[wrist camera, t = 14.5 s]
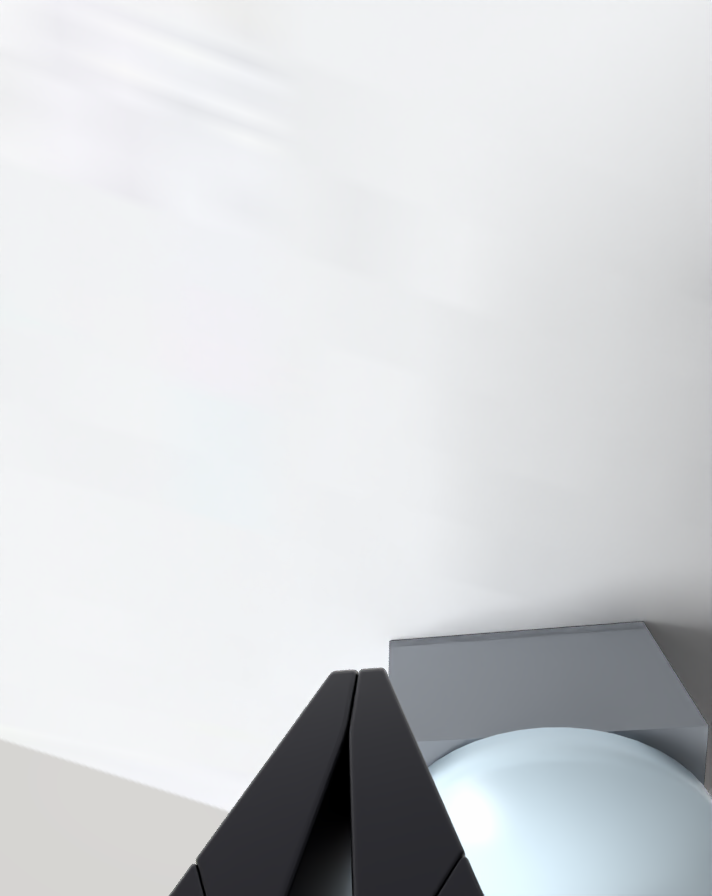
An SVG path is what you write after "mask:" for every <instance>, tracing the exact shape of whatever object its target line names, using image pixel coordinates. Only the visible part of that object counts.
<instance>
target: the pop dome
mask: <svg viewBox="0 0 712 896" xmlns="http://www.w3.org/2000/svg"><path fill="white" fill-rule="evenodd" d="M428 769H429V771H430V773H431V775H432V778H433V780H434V782H435V785H436V787H437V789H438V792H439V794H440V796H441V798H442V801H443V803H444V805H445V808H446V810H447V812H448V814H449V817H450V819H451V821H452V824H453V826H454V828H455V831H456V833H457V835H458V837H459V840H460V842H461V844H462V847H463V849H464V851H465V856H466V857H467V858H468V860H469V862H470V864H471V867H472V869H473V871H474V874H475V876H476V878H477V880H478V883H479V885H480V887H481V889H482V891H483V894H484V896H712V797H711V796H710V794H709V793H708V791H707V790H706V788H705V787H704V785H703V784H702V783H701V782H700V781H699V780H698V779H697V778H696V777H695V776H694V775H693V774H692V773H691V772H690V771H689V770H688V769H686V768H685V767H684V766H683V765H681V764H680V763H679V762H677V761H676V760H675V759H673V758H671V757H670V756H668V755H666V754H664V753H663V752H661V751H659V750H658V749H655V748H653V747H651V746H648V745H646V744H644V743H641V742H639V741H637V740H633V739H630V738H627V737H623V736H620V735H617V734H613V733H607V732H602V731H597V730H592V729H581V728H570V727H543V728H533V729H524V730H517V731H512V732H507V733H502V734H497V735H494V736H490V737H487V738H484V739H481V740H478V741H475V742H472V743H470V744H468V745H465V746H463V747H461V748H458V749H456V750H454V751H452V752H451V753H449V754H447V755H446V756H444V757H442V758H440V759H439V760H437V761H436V762H434V763H433V764H432V765H430V766H429V767H428Z"/></svg>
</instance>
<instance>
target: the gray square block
mask: <svg viewBox="0 0 712 896" xmlns="http://www.w3.org/2000/svg"><path fill="white" fill-rule="evenodd" d="M389 679H390V681H391V684H392V686H393V688H394V691H395V693H396V695H397V697H398V700H399V702H400V704H401V707H402V709H403V711H404V713H405V716H406V718H407V720H408V723H409V725H410V727H411V730H412V732H413V734H414V736H415V739H416V741H417V743H418V746H419V748H420V750H421V753H422V755H423V757H424V759H425V762H426V764H427V766H428V767H429V766H430V765H432V764H433V763H434V762H436V761H437V760H439V759H440V758H442V757H444V756H446V755H447V754H449V753H451V752H452V751H454V750H456V749H458V748H461V747H463V746H465V745H468V744H470V743H472V742H475V741H478V740H481V739H484V738H487V737H490V736H494V735H497V734H502V733H507V732H512V731H517V730H524V729H533V728H543V727H570V728H581V729H592V730H597V731H602V732H607V733H613V734H617V735H620V736H623V737H627V738H630V739H633V740H637V741H639V742H641V743H644V744H646V745H648V746H651V747H653V748H655V749H658V750H659V751H661V752H663V753H664V754H666V755H668V756H670V757H671V758H673V759H675V760H676V761H677V762H679V763H680V764H681V765H683V766H684V767H685V768H686V769H688V770H689V771H690V772H691V773H692V774H693V775H694V776H695V777H696V778H697V779H698V780H699V781H700V782H701V783H702V784H703V785H704V778H705V765H706V753H707V741H708V728H709V726H708V724H707V723H706V721H705V719H704V718H703V716H702V715H701V713H700V711H699V710H698V708H697V707H696V705H695V703H694V702H693V700H692V699H691V697H690V695H689V694H688V692H687V691H686V689H685V687H684V686H683V684H682V683H681V681H680V679H679V678H678V676H677V675H676V673H675V671H674V670H673V668H672V667H671V665H670V663H669V662H668V660H667V659H666V657H665V655H664V654H663V652H662V651H661V649H660V647H659V646H658V644H657V643H656V641H655V639H654V638H653V636H652V635H651V633H650V631H649V630H648V628H647V627H646V625H645V623H644V622H631V623H617V624H604V625H591V626H578V627H565V628H552V629H539V630H526V631H513V632H499V633H486V634H473V635H460V636H447V637H434V638H421V639H408V640H395V641H390V642H389Z"/></svg>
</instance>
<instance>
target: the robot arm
mask: <svg viewBox="0 0 712 896" xmlns="http://www.w3.org/2000/svg"><path fill="white" fill-rule="evenodd" d="M196 864H197V865H196ZM196 864H192V865H191V866H190V867H189V869H188V870H187V872H186V873H185V875H184V876H183V877H182V879H181V880H180V881H179V883H178V884H177V885H176V887H175V888H174V890H173V891H172V892H171V894H170V895H169V896H484V894H483V891H482V889H481V887H480V885H479V883H478V880H477V878H476V876H475V874H474V871H473V869H472V867H471V864H470V862H469V860H468V858H467V857H466V856H465V851H464V849H463V847H462V844H461V842H460V840H459V837H458V835H457V833H456V831H455V828H454V826H453V824H452V821H451V819H450V817H449V814H448V812H447V810H446V808H445V805H444V803H443V801H442V798H441V796H440V794H439V792H438V789H437V787H436V785H435V782H434V780H433V778H432V775H431V773H430V771H429V769H428V766H427V764H426V762H425V759H424V757H423V755H422V753H421V750H420V748H419V746H418V743H417V741H416V739H415V736H414V734H413V732H412V730H411V727H410V725H409V723H408V720H407V718H406V716H405V713H404V711H403V709H402V707H401V704H400V702H399V700H398V697H397V695H396V693H395V691H394V688H393V686H392V684H391V681H390V679H389V677H388V674H387V672H386V670H385V669H384V668H369V669H361V670H360V671H359V673H358V672H357V671H356V670H340V671H334V672H332V673H331V674H330V675H329V676H328V678H327V679H326V680H325V682H324V683H323V684H322V686H321V687H320V689H319V690H318V691H317V693H316V694H315V695H314V697H313V698H312V700H311V701H310V702H309V704H308V705H307V707H306V708H305V709H304V711H303V712H302V713H301V715H300V716H299V718H298V719H297V720H296V722H295V723H294V724H293V726H292V727H291V729H290V730H289V731H288V733H287V734H286V735H285V737H284V738H283V740H282V741H281V742H280V744H279V745H278V747H277V748H276V749H275V751H274V752H273V753H272V755H271V756H270V758H269V759H268V760H267V762H266V763H265V764H264V766H263V767H262V769H261V770H260V771H259V773H258V774H257V775H256V777H255V778H254V780H253V781H252V782H251V784H250V785H249V787H248V788H247V789H246V791H245V792H244V793H243V795H242V796H241V798H240V799H239V800H238V802H237V803H236V804H235V806H234V807H233V809H232V810H231V811H230V813H229V814H228V816H227V817H226V819H225V820H224V821H223V822H222V824H221V825H220V827H219V828H218V829H217V831H216V832H215V834H214V835H213V836H212V838H211V839H210V840H209V842H208V843H207V844H206V846H205V848H204V849H203V850H202V851H201V853H200V854H199V855H198V857H197V859H196Z"/></svg>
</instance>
